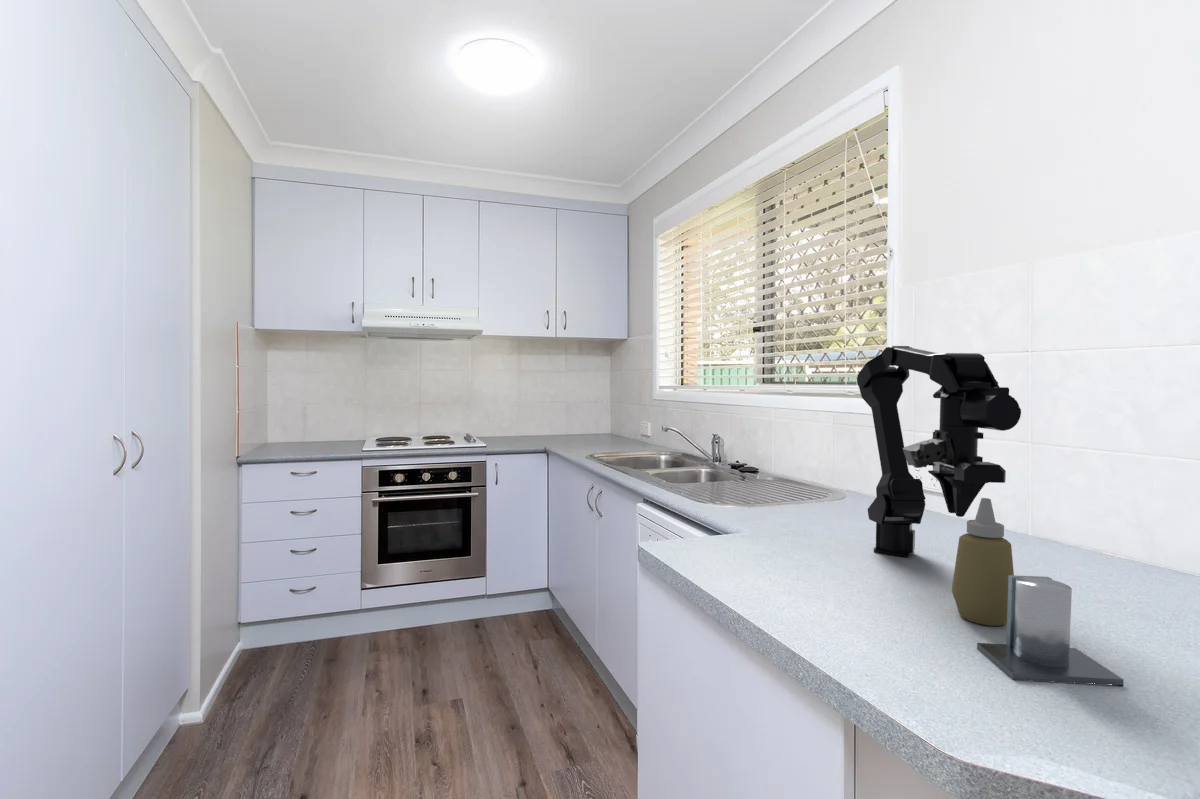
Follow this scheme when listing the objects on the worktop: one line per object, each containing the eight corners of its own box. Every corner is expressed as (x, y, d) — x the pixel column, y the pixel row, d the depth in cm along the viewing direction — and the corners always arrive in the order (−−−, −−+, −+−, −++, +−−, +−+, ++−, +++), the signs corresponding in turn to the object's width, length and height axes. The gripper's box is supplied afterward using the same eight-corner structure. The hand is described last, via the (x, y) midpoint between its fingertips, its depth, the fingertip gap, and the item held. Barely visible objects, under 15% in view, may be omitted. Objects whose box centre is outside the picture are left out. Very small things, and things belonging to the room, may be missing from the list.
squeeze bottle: (1005, 612, 89) (1008, 495, 89) (1024, 634, 82) (1028, 506, 81) (945, 605, 92) (948, 491, 91) (958, 625, 84) (961, 502, 84)
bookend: (977, 648, 77) (979, 573, 77) (1075, 654, 76) (1078, 578, 75) (1012, 679, 69) (1015, 596, 69) (1123, 686, 68) (1126, 601, 67)
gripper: (889, 420, 111) (887, 502, 112) (934, 429, 93) (931, 526, 93) (951, 421, 110) (948, 503, 111) (1009, 430, 92) (1005, 529, 92)
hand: (955, 514), depth 102 cm, fingers closed
